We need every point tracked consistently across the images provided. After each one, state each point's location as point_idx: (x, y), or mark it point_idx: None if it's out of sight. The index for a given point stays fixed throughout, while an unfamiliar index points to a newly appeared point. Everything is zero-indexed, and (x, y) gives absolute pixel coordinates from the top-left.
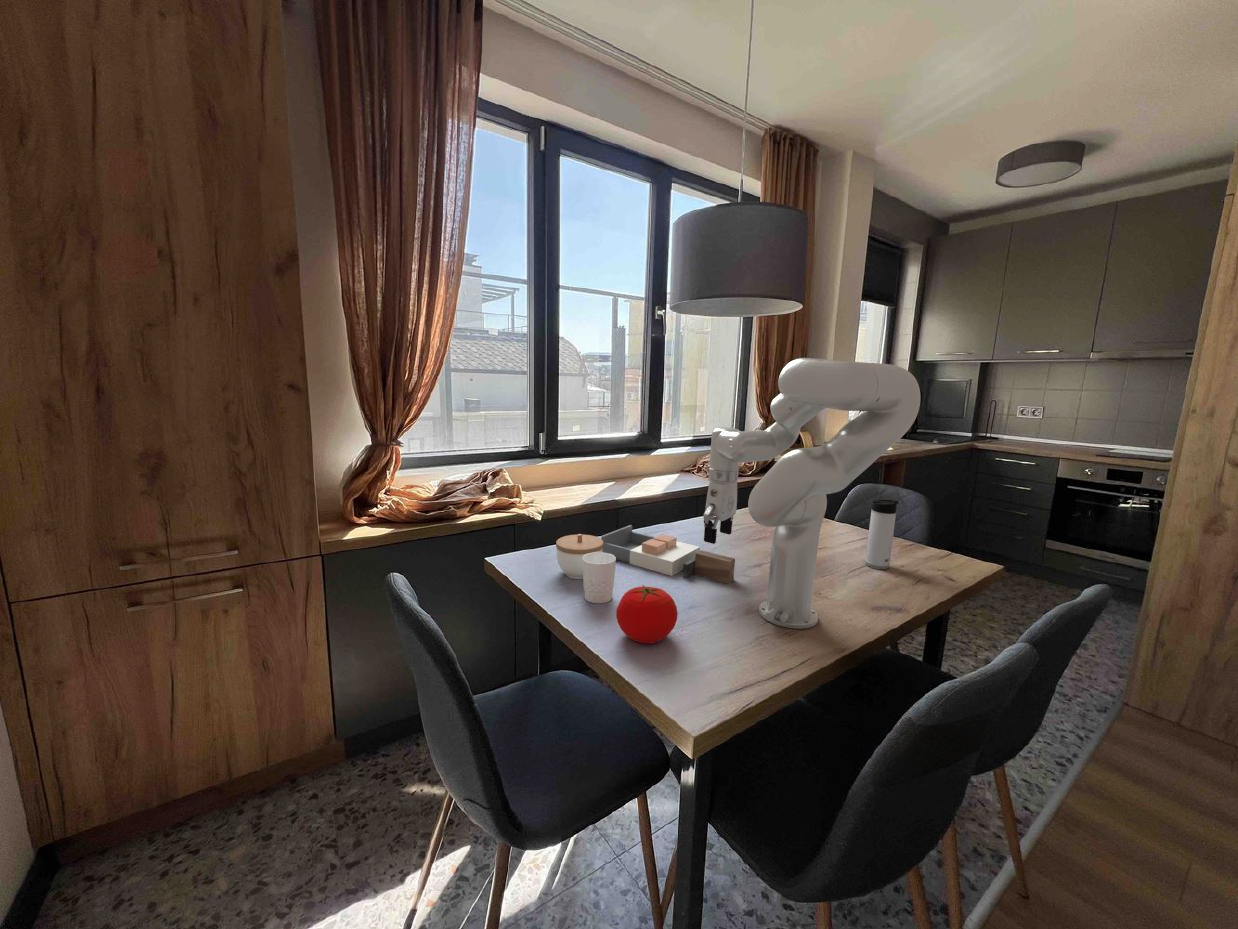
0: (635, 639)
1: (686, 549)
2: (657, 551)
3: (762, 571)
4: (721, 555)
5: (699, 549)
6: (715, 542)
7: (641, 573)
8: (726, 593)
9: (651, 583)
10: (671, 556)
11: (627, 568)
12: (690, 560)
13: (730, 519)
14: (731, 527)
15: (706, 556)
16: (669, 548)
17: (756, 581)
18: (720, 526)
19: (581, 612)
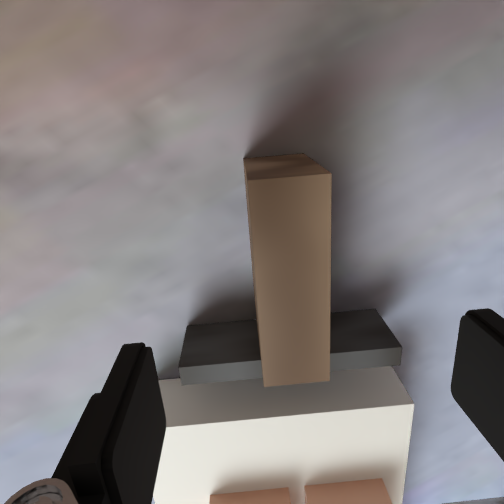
0: None
1: (221, 446)
2: (381, 494)
3: (10, 93)
4: (259, 270)
5: None
6: (482, 311)
7: (430, 432)
8: (421, 101)
9: None
10: (354, 438)
11: (417, 478)
12: (338, 366)
13: (71, 497)
14: (114, 388)
15: (328, 322)
16: (271, 490)
17: (172, 51)
18: (156, 469)
19: None
